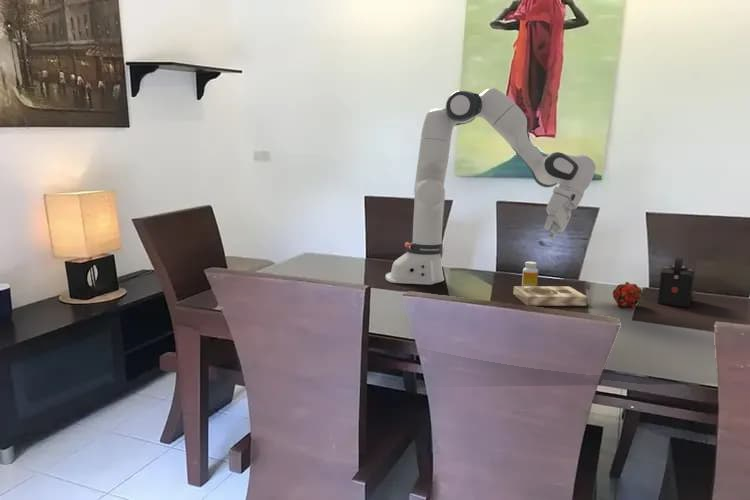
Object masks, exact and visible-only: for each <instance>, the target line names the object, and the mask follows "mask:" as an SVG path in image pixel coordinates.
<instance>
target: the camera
mask: <svg viewBox="0 0 750 500" xmlns="http://www.w3.org/2000/svg"><path fill="white" fill-rule="evenodd" d="M674 260H675V261H674V264H671V265H670V266H669V265H668V266H667V265H664V266H662V268H661V271H660V274H659V275H660V276H659V278H660V279H659V287H658V288H659V289H658V294H657V303H658V304H661V305H667V306H675V307H681V308H689V307H690V304H691V303H690V302H691V301H695V297H696V291H695V290H693V284H694V283H693V282H694V276H695V270H694V269H693V268H687V265H686V266H683V258H677V257H675V259H674Z"/></svg>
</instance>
